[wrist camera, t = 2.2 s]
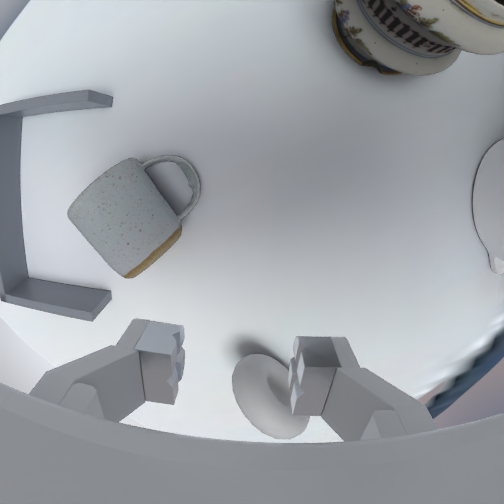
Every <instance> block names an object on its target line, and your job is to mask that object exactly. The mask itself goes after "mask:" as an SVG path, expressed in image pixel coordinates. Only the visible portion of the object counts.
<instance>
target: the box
mask: <svg viewBox="0 0 504 504" xmlns="http://www.w3.org/2000/svg"><path fill="white" fill-rule="evenodd" d="M112 100H113V97H111V96H108V95H105V94H101V93H98V92H95V91H92V90H81V91H73V92H66V93H59V94H53V95H46V96H41V97H35V98H30V99H25V100H20V101H15V102H11V103H6V104H2V105H0V298H1V301H4V302H7V303H11V304H15V305H19V306H23V307H27V308H31V309H35V310H40V311H44V312H49V313H53V314H58V315H62V316H67V317H72V318H77V319H82V320H87V321H92V322H93V320H94V319H95V318H96V317H97V316H98V314H99V313H100V312H101V311H102V310H103V309H104V307H105V306H106V305H107V304H108V303H109V302H110V300H111V291H107V290H100V289H94V288H87V287H81V286H74V285H68V284H62V283H56V282H50V281H45V280H39V279H33V278H28V271H27V265H26V257H25V249H24V240H23V229H22V216H21V196H20V150H21V131H22V118H23V117H25V116H32V115H38V114H45V113H53V112H61V111H70V110H80V109H91V108H104V107H112Z"/></svg>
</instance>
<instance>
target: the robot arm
mask: <svg viewBox="0 0 504 504" xmlns="http://www.w3.org/2000/svg"><path fill="white" fill-rule="evenodd" d="M473 214H474V221H475V226H476V229H477V232H478V235H479V237H480V239H481V241H482V243H483V244H484V246H485V247H486V249H487V251H488V253H489V259H490V265H491V269H492V271H493V272H495V273H497V274H504V139H502V140H500V141H498V142H497V143H495V144H494V145H493V146H492V147H491V148H490V149H489V150H488V151H487V153H486V154H485V156H484V158H483V160H482V162H481V164H480V166H479V169H478V172H477V175H476V179H475V185H474V192H473ZM183 341H184V327H183V325H176V324H169V323H163V322H156V321H150V320H144V319H137V318H136V319H133V320H132V322H131V323H130V325H129V326H128V328H127V329H126V331H125V332H124V334H123V335H122V337H121V338H120V340H119V341H118V343H117V345H116V346H112V345H111V346H108V347H106V348H103V349H101V350H99V351H96V352H94V353H91V354H89V355H86V356H84V357H82V358H79V359H77V360H74V361H72V362H69V363H67V364H64V365H62V366H59V367H57V368H54V369H52V370H50V371H47V372H46V373H45V374H44V375H43V377H42V378H41V379H40V380H39V382H38V383H37V384H36V386H35V387H34V388H33V389H32V391H31V392H30V393H29V394H26V393H24V392H21V391H19V390H16V389H14V388H11V387H9V386H7V385H4V384H2V383H0V504H504V413H501V414H499V415H495V416H492V417H488V418H484V419H481V420H477V421H473V422H469V423H465V424H461V425H457V426H452V427H448V428H443V429H438V428H437V426H436V424H435V423H434V421H433V419H432V417H431V415H430V414H429V412H428V410H427V408H426V406H425V405H424V404H422V403H421V402H419V401H418V400H416V399H414V398H413V397H411V396H409V395H408V394H406V393H404V392H403V391H401V390H400V389H398V388H396V387H395V386H393V385H392V384H390V383H388V382H387V381H385V380H384V379H382V378H380V377H379V376H377V375H376V374H374V373H372V372H371V371H369V370H368V369H366V368H360V366H359V364H358V362H357V360H356V357H355V355H354V353H353V351H352V349H351V347H350V344H349V342H348V340H347V338H345V337H310V336H296V338H295V341H294V345H293V351H294V357H293V358H292V359H291V360H290V366H289V375H288V384H289V390H290V391H292V395H291V399H290V400H291V407H292V414H293V415H303V416H321V417H322V418H323V420H324V421H325V422H326V423H327V424H328V425H329V426H330V427H331V428H332V429H333V430H334V431H335V432H336V433H337V434H338V435H339V436H340V437H341V438H342V439H343V440H344V441H345V442H329V443H265V442H246V441H232V440H221V439H211V438H203V437H195V436H187V435H180V434H174V433H168V432H162V431H157V430H151V429H146V428H141V427H137V426H131V425H127V424H123V423H119V421H121V420H122V419H124V418H125V417H126V416H128V415H129V414H130V413H132V412H133V411H134V410H135V409H137V408H138V407H139V406H141V405H142V404H143V403H145V401H151V402H157V403H164V404H172V405H174V403H175V399H176V396H177V393H178V382H179V381H180V380H181V379H182V375H183V370H184V361H185V350H184V349H183V348H182V344H183Z"/></svg>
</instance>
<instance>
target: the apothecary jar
mask: <svg viewBox="0 0 504 504" xmlns="http://www.w3.org/2000/svg"><path fill="white" fill-rule="evenodd" d="M334 4H335V7H334V10H333V15H332V24H333V29H334V33H335V36H336V37H337V40H338V41H339V43H340V45H341V46H342V48H343V49H344V50H345V51H346V53H347V54H348V55H349V56H350V57H351V58H353V59H354V60H355V61H356V62H358V63H359V64H360V65H362V66H371V67H375V68H376V69H377V70H378V71H379V72H380V73H381V74H387V75H396V74H402V73H405V74H410V75H430V74H435V73H438V72H441V71H443V70H445V69H447V68H448V67H449V66H451V65H452V64H453V63H454V62H455V60H456V59H457V58H458V56H459V54H460V52H461V50H463V51H467V52H470V53H474V54H481V55H493V54H498V53H501V52H504V0H334Z"/></svg>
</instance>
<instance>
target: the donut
mask: <svg viewBox="0 0 504 504" xmlns="http://www.w3.org/2000/svg"><path fill="white" fill-rule="evenodd" d="M288 375H289V371H288V370H287V369H286V368H285V367H284V366H283V365H282V364H281V363H279V362H278V361H276V360H275V359H273V358H272V357H269V356H266V355H263V354H250V355H247V356H245V357H244V358H243V359H241V360H240V361H239V362H238V363H237V364H236V366H235V369H234V372H233V375H232V386H233V392H234V395H235V398H236V401H237V404H238V405H239V407H240V409H241V411H242V412H243V414H244V415H245V417H246V418H247V419H248V420H249V421H250V422H251V424H252V425H253V426H255V427H256V428H257V429H258V430H260V431H261V432H262V433H264V434H266V435H268V436H271V437H273V438H276V439H292V438H294V437H296V436H298V435H299V434H301V433H302V432H303V431H304V430H305V429H306V427H307V424H308V422H309V418H310V416H303V415H293V414H292V407H291V400H290V399H291V395H292V391H290V390H289V384H288Z"/></svg>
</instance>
